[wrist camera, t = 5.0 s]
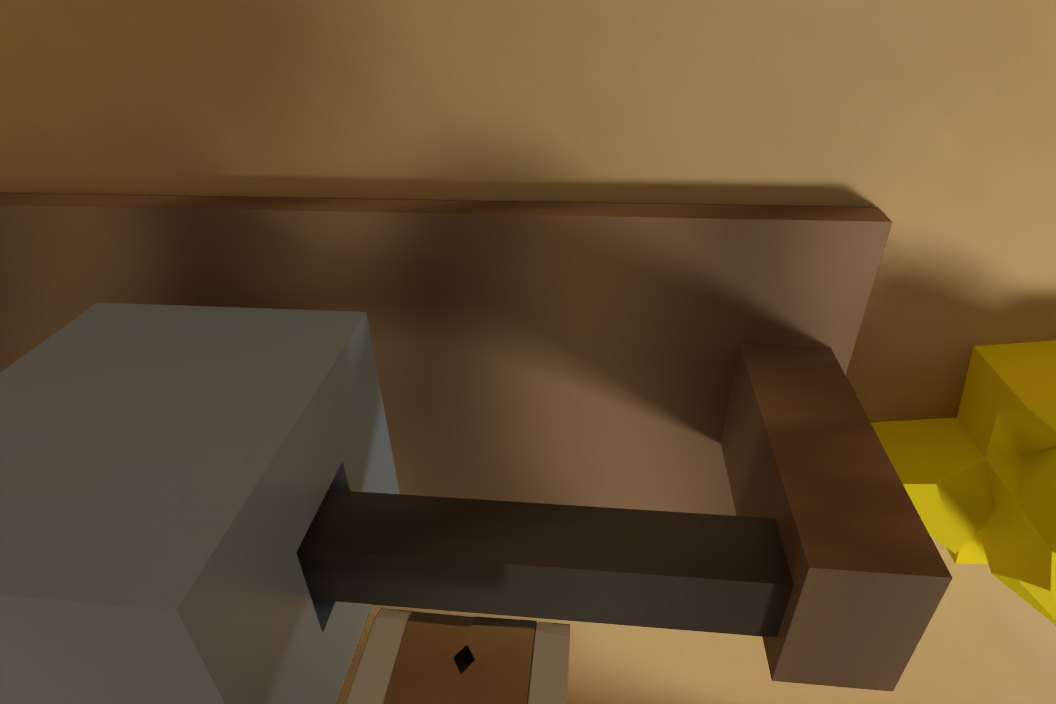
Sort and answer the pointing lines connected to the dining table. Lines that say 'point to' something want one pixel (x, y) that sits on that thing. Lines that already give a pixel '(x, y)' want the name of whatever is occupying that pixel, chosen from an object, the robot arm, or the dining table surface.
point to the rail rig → (561, 402)
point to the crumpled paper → (991, 469)
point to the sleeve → (181, 504)
